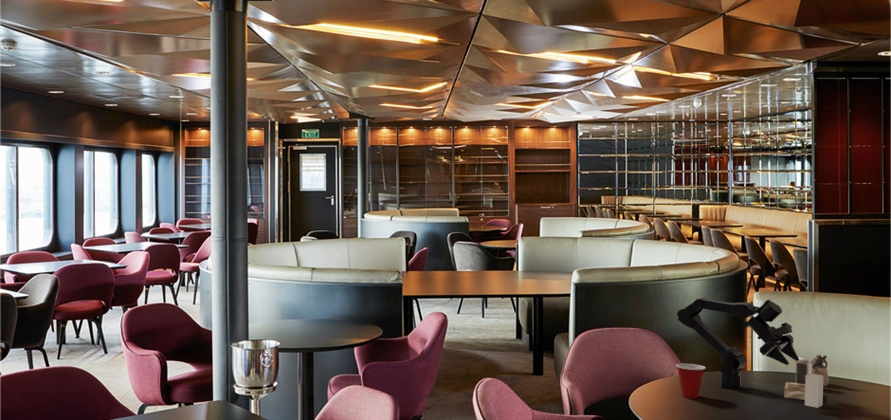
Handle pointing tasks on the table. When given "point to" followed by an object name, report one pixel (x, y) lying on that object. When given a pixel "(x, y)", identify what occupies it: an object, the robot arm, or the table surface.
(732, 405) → the table surface
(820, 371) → the figurine
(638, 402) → the table surface
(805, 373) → the cradle
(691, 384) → the plastic cup
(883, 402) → the table surface
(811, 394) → the block
